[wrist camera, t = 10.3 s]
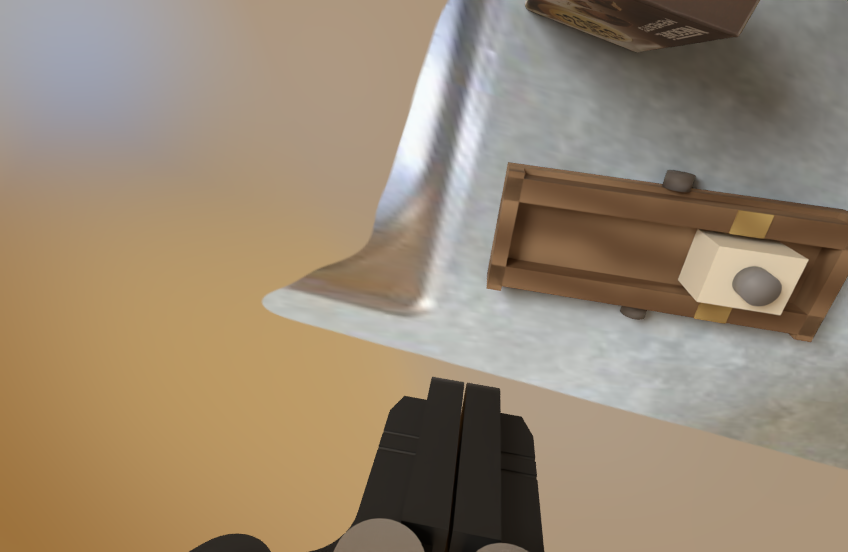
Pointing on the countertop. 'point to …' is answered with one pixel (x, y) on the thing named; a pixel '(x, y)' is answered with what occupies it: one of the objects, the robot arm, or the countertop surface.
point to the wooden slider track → (654, 244)
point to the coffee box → (650, 20)
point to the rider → (741, 271)
